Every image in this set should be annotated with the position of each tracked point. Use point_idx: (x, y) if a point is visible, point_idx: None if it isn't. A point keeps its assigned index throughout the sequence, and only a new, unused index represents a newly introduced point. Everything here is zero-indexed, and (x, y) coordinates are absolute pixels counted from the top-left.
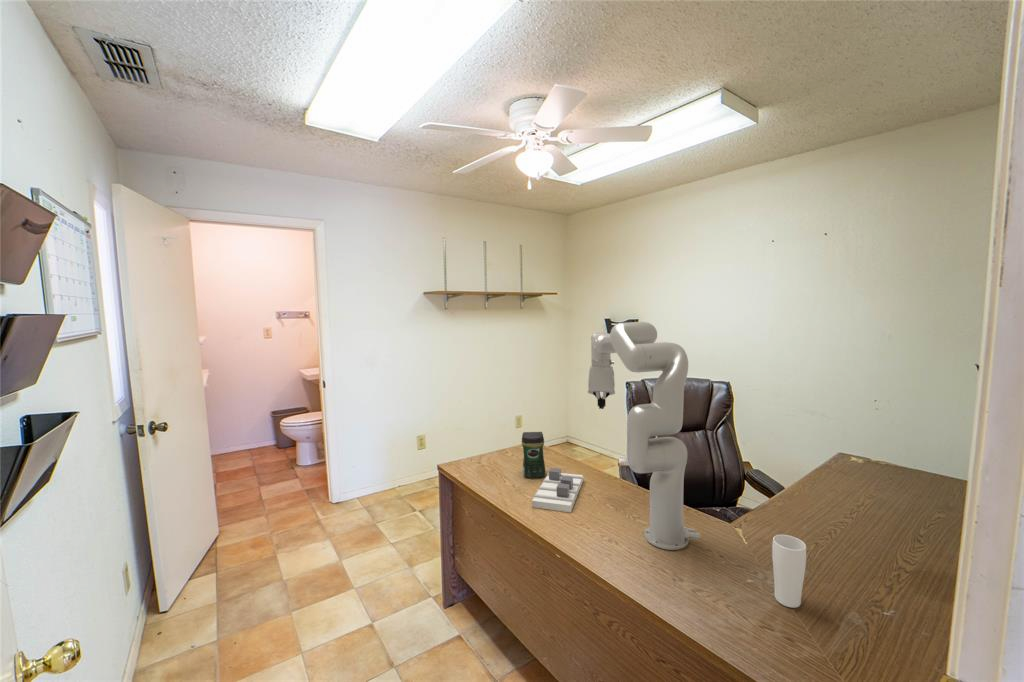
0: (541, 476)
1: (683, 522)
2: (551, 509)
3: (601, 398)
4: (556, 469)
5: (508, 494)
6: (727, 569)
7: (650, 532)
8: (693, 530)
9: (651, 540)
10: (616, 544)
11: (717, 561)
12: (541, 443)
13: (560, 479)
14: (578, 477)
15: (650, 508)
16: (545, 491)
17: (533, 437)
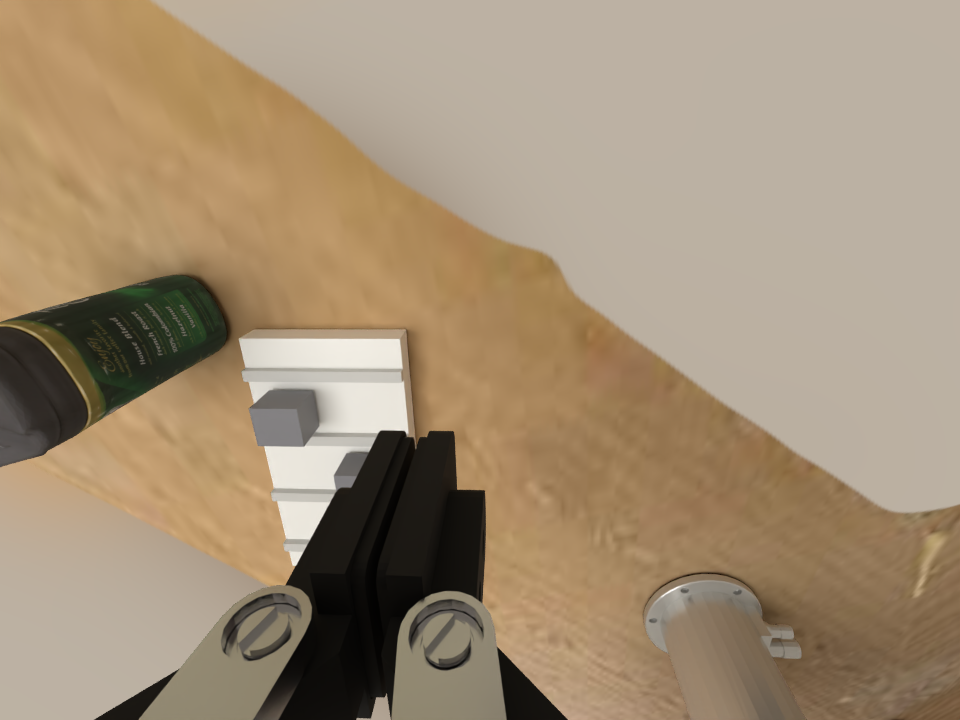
0: (220, 348)
1: (771, 638)
2: None
3: (369, 609)
4: (280, 420)
5: (187, 492)
6: (813, 680)
7: (662, 634)
8: (788, 638)
9: (659, 646)
10: (569, 649)
11: (802, 663)
12: (89, 422)
13: (318, 402)
14: (388, 381)
15: (688, 712)
16: (306, 505)
17: (5, 458)
